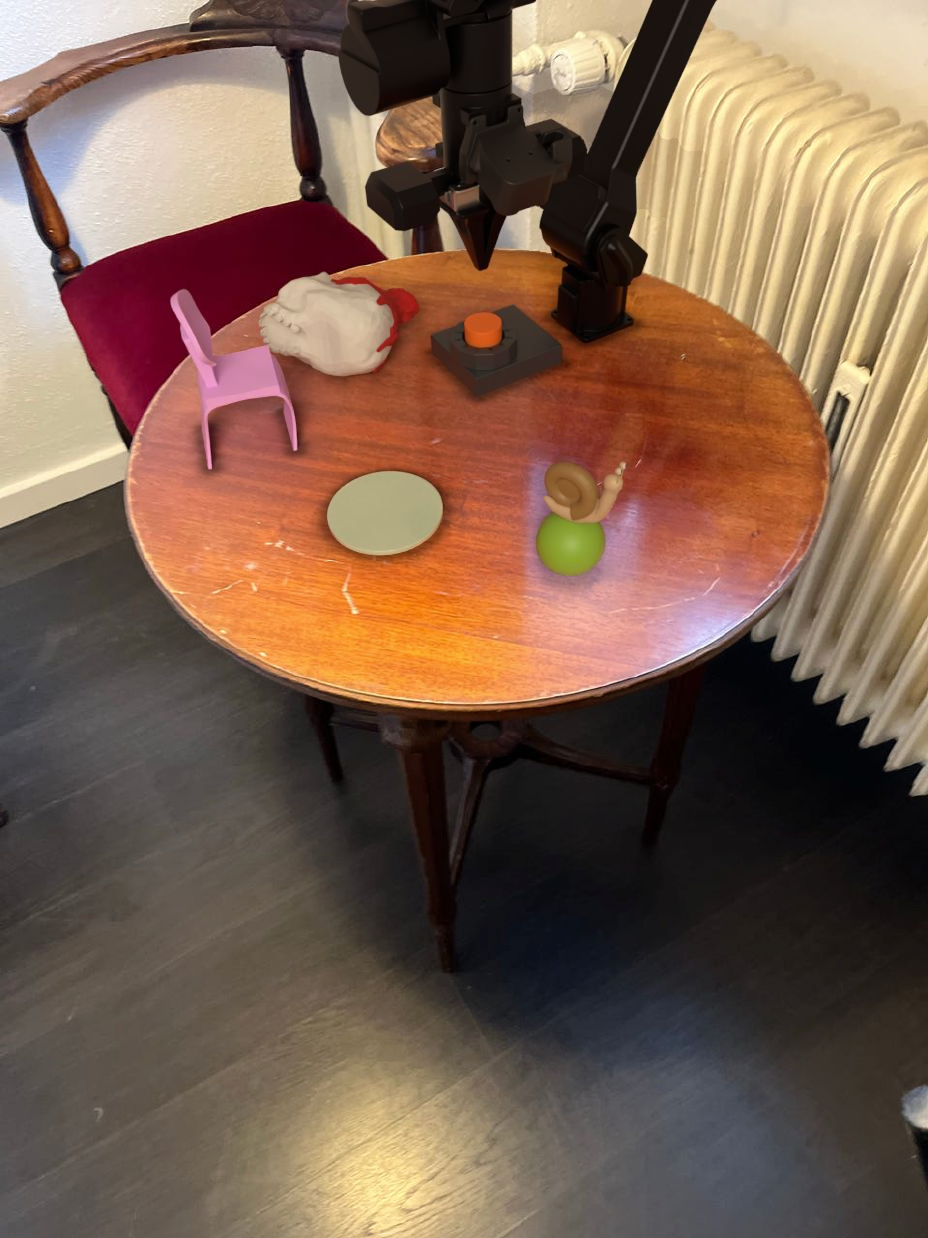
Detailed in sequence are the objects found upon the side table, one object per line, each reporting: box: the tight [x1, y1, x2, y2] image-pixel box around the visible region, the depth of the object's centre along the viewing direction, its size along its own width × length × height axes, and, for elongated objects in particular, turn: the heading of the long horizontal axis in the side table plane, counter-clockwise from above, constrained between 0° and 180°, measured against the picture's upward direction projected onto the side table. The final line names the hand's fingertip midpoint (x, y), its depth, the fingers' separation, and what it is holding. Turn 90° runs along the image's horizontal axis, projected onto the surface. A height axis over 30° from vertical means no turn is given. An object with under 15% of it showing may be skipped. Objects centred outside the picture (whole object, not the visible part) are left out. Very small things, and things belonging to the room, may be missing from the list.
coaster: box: [326, 470, 444, 556], centre depth 77 cm, size 10×10×1 cm
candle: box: [258, 271, 421, 377], centre depth 89 cm, size 9×11×15 cm
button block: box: [430, 303, 563, 398], centre depth 89 cm, size 10×9×4 cm
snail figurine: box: [535, 461, 627, 577], centre depth 67 cm, size 5×6×12 cm
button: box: [464, 311, 502, 348], centre depth 86 cm, size 4×4×2 cm
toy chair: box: [170, 288, 298, 470], centre depth 78 cm, size 8×9×15 cm
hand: (480, 268), depth 81 cm, fingers closed
